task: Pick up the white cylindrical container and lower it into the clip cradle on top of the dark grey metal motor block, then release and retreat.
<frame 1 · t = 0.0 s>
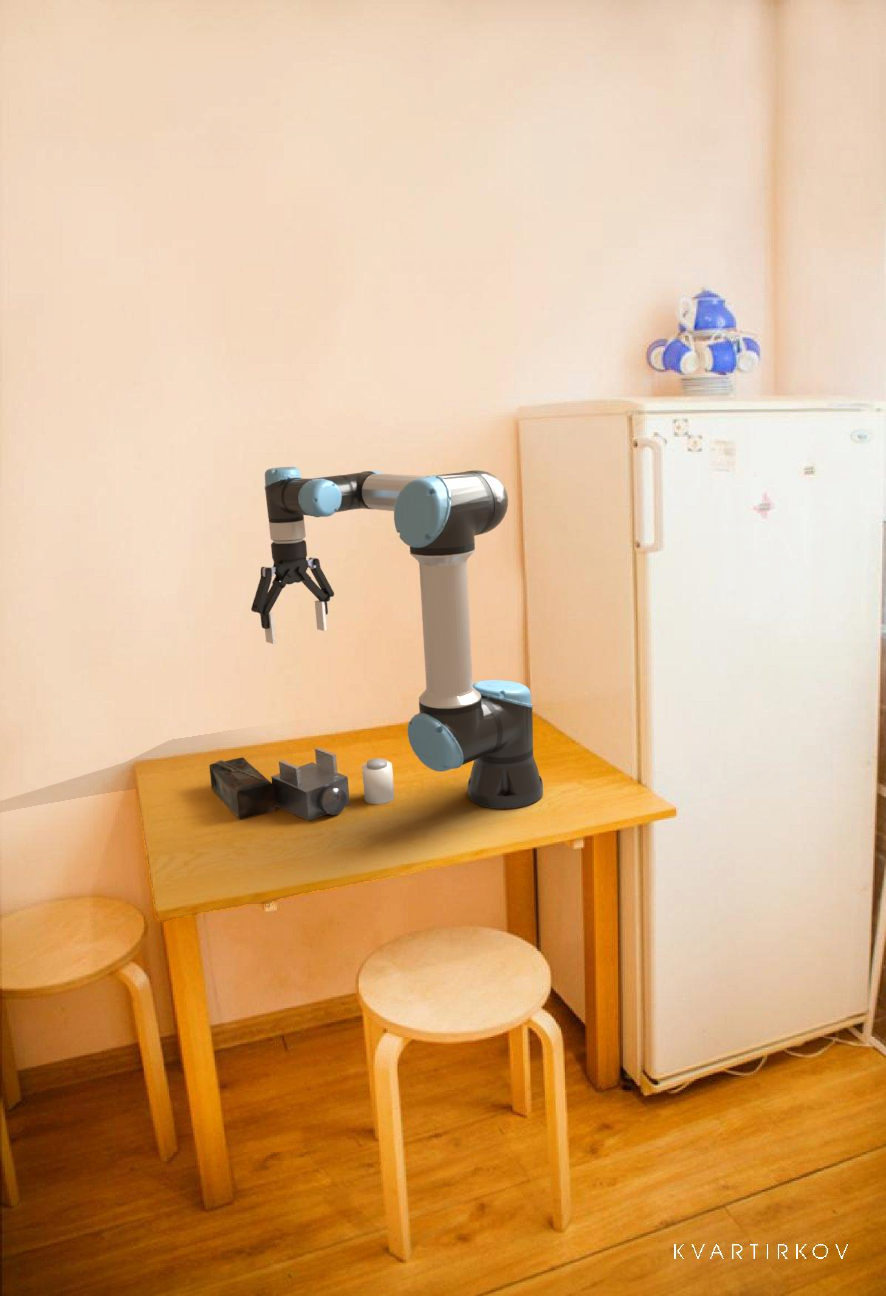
hand: (297, 636, 217), 28 cm above the table, fingers open, 13 cm apart
motor: (311, 804, 198), on the table
beverage carton: (243, 801, 202), on the table
white cylindrical container: (379, 798, 199), on the table
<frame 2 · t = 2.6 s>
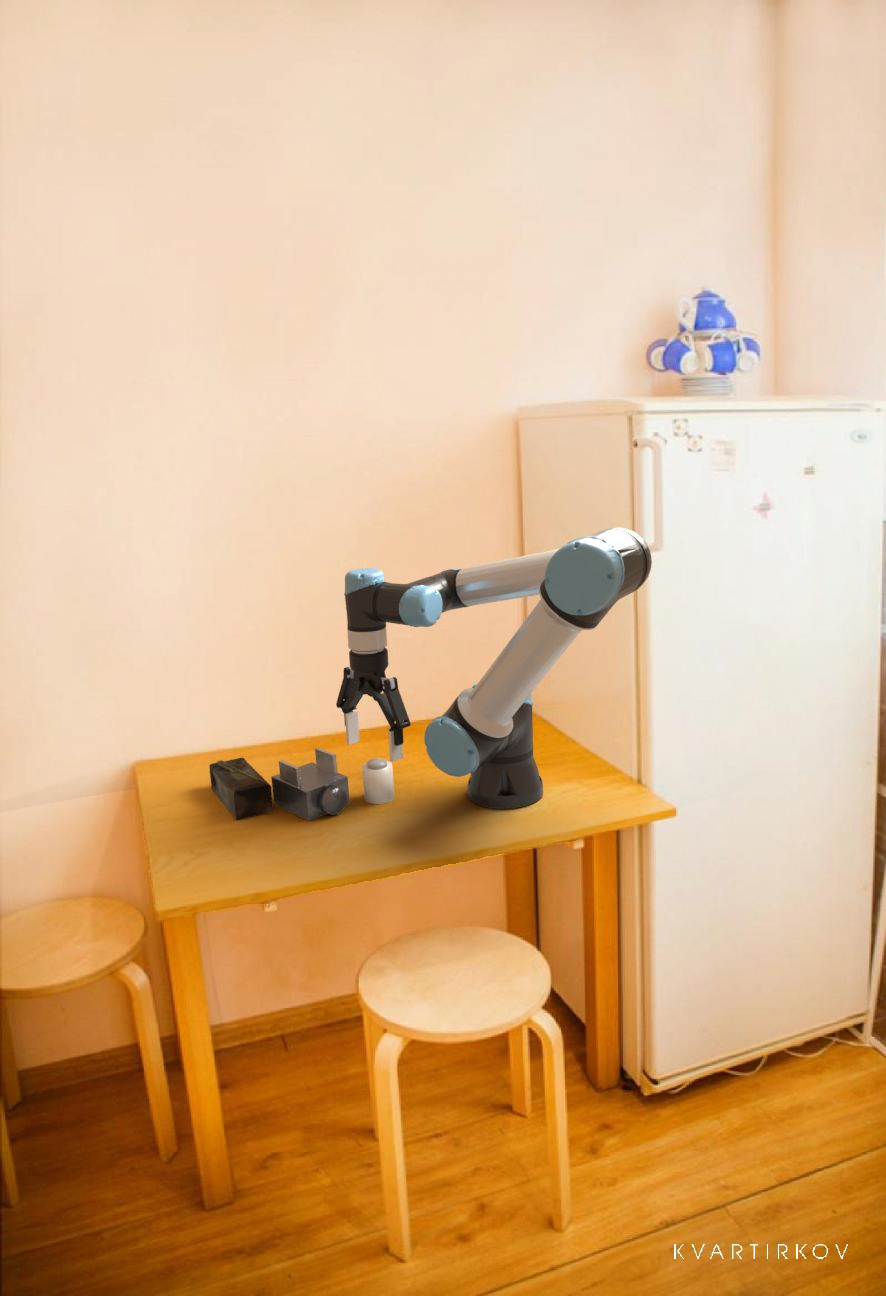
hand: (374, 751, 197), 10 cm above the table, fingers open, 13 cm apart
nothing on the table moved.
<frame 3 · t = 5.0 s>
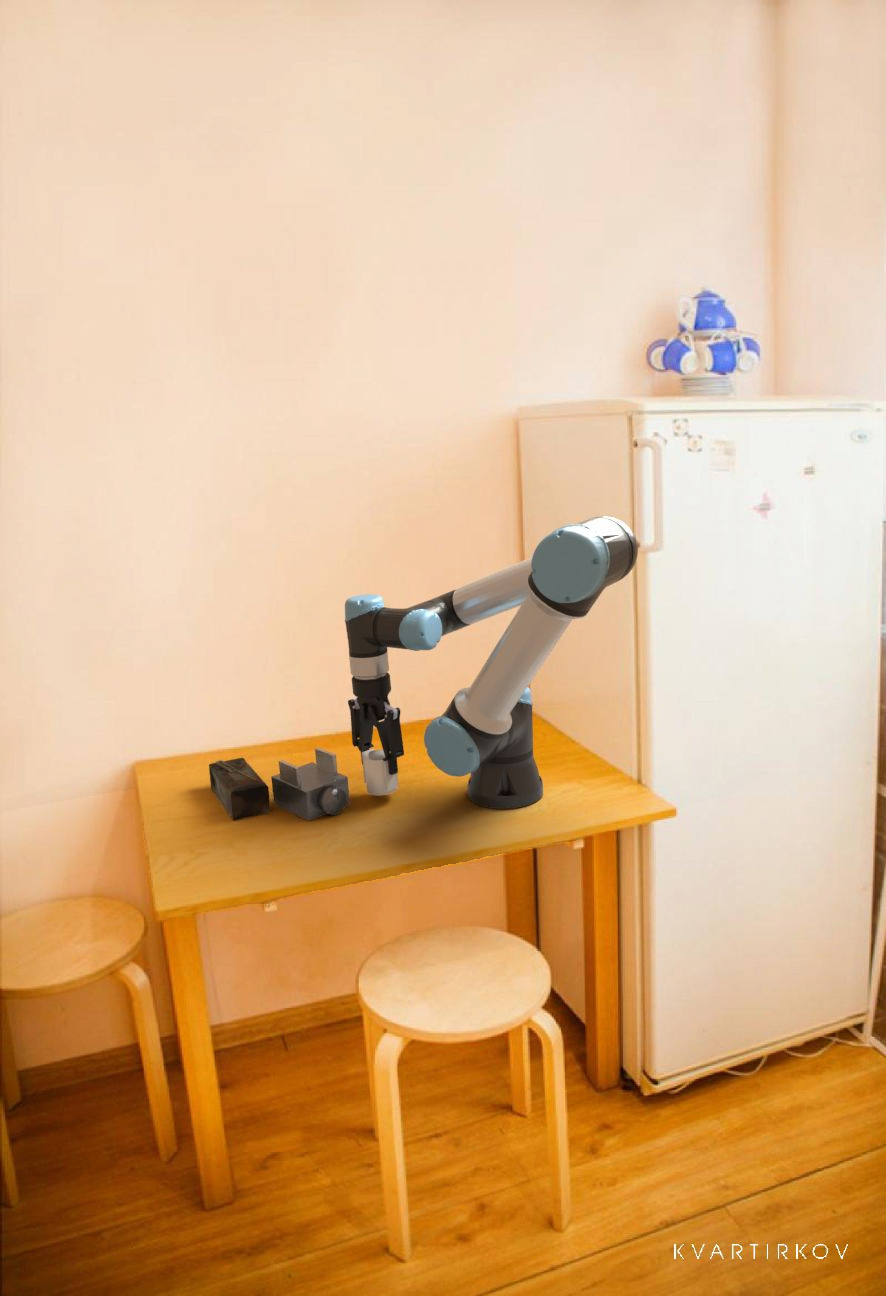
hand: (381, 784, 198), 3 cm above the table, fingers closed on white cylindrical container, 6 cm apart
white cylindrical container: (381, 789, 199), point 2 cm above the table, touching gripper
everything else where it was.
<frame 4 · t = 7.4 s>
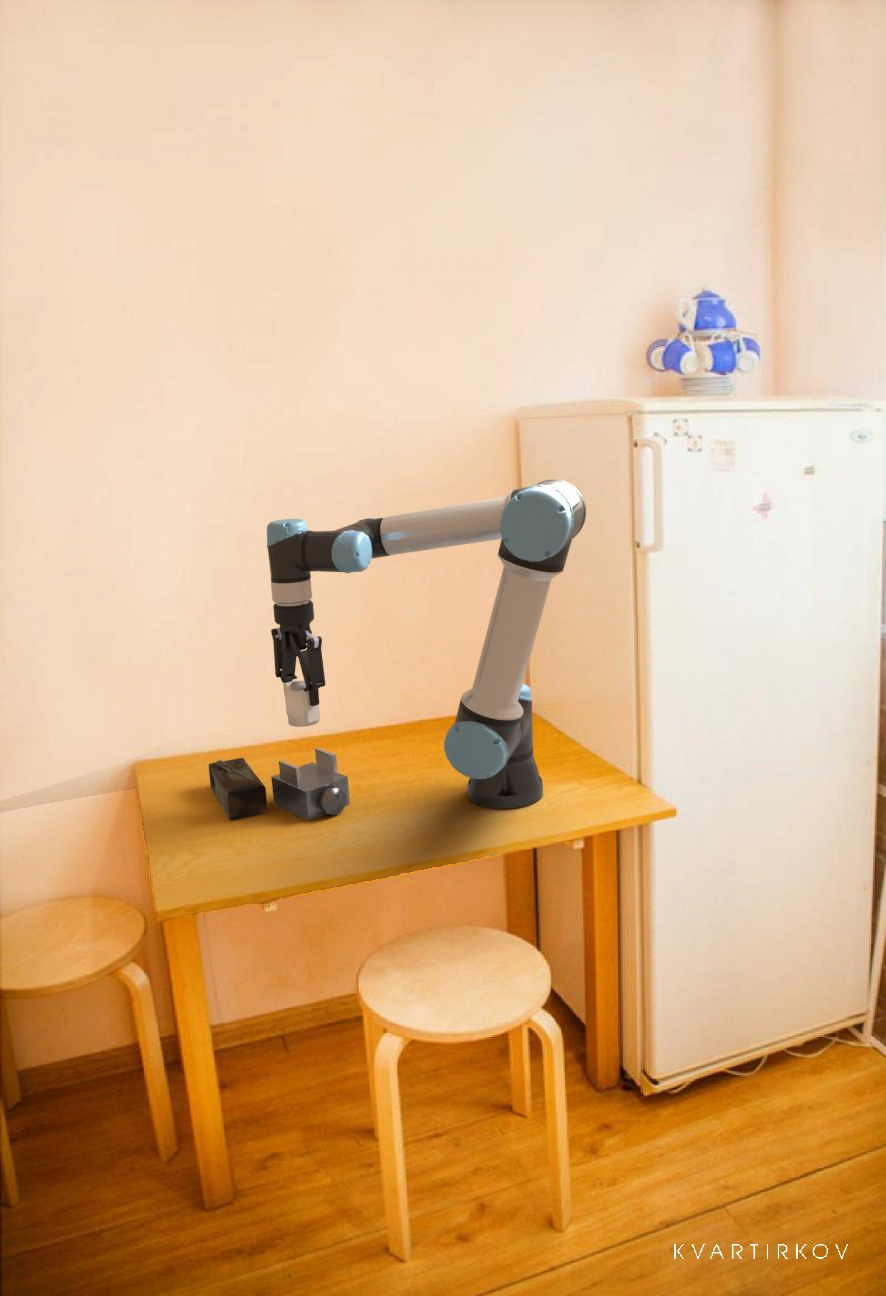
hand: (303, 716, 193), 19 cm above the table, fingers closed on white cylindrical container, 6 cm apart
white cylindrical container: (303, 721, 193), point 18 cm above the table, touching gripper
everything else where it was.
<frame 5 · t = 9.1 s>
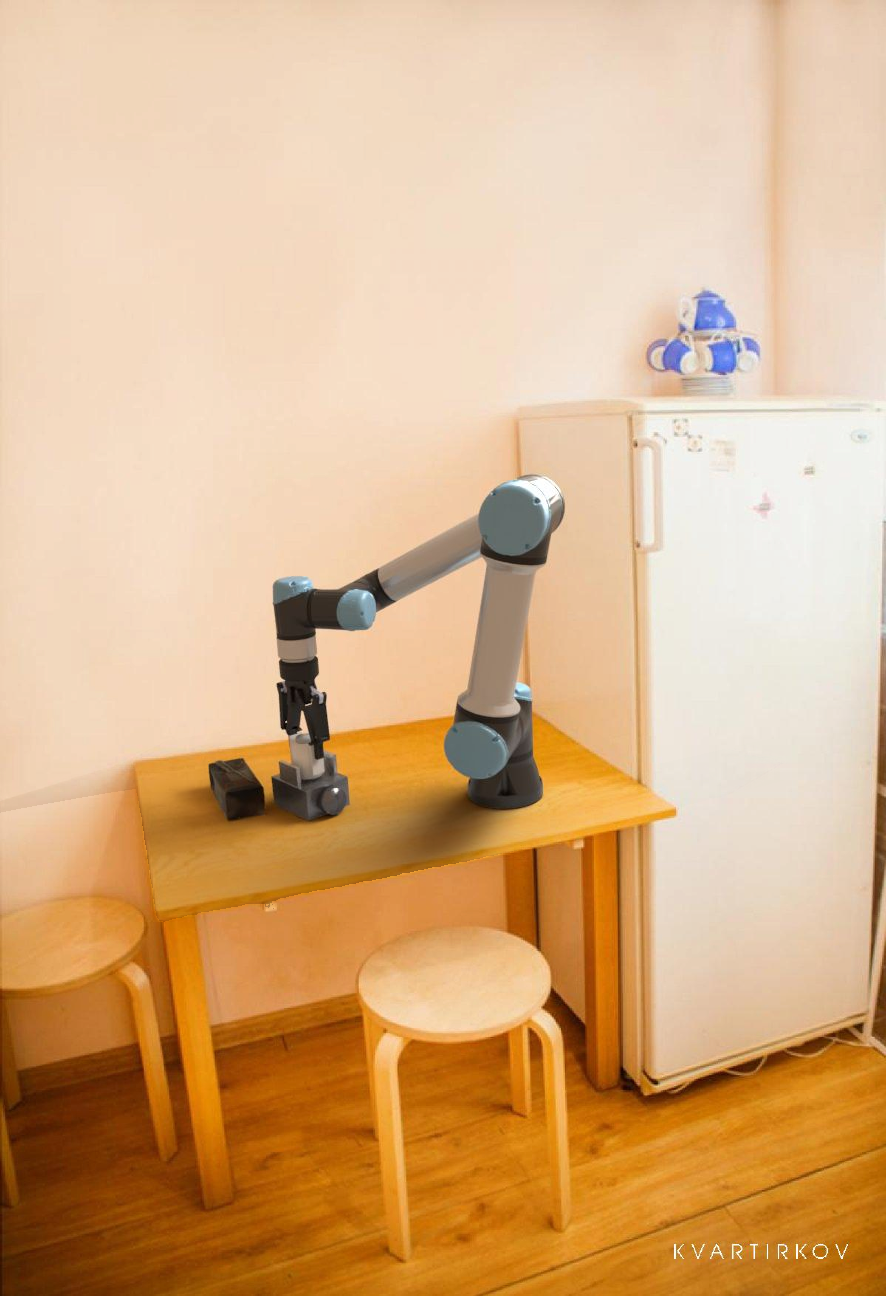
hand: (308, 768, 196), 8 cm above the table, fingers closed on white cylindrical container, 6 cm apart
white cylindrical container: (308, 773, 196), point 7 cm above the table, touching gripper
when the fingers open (7 cm above the table, at t = 9.8 s): white cylindrical container stays where it is, resting on motor.
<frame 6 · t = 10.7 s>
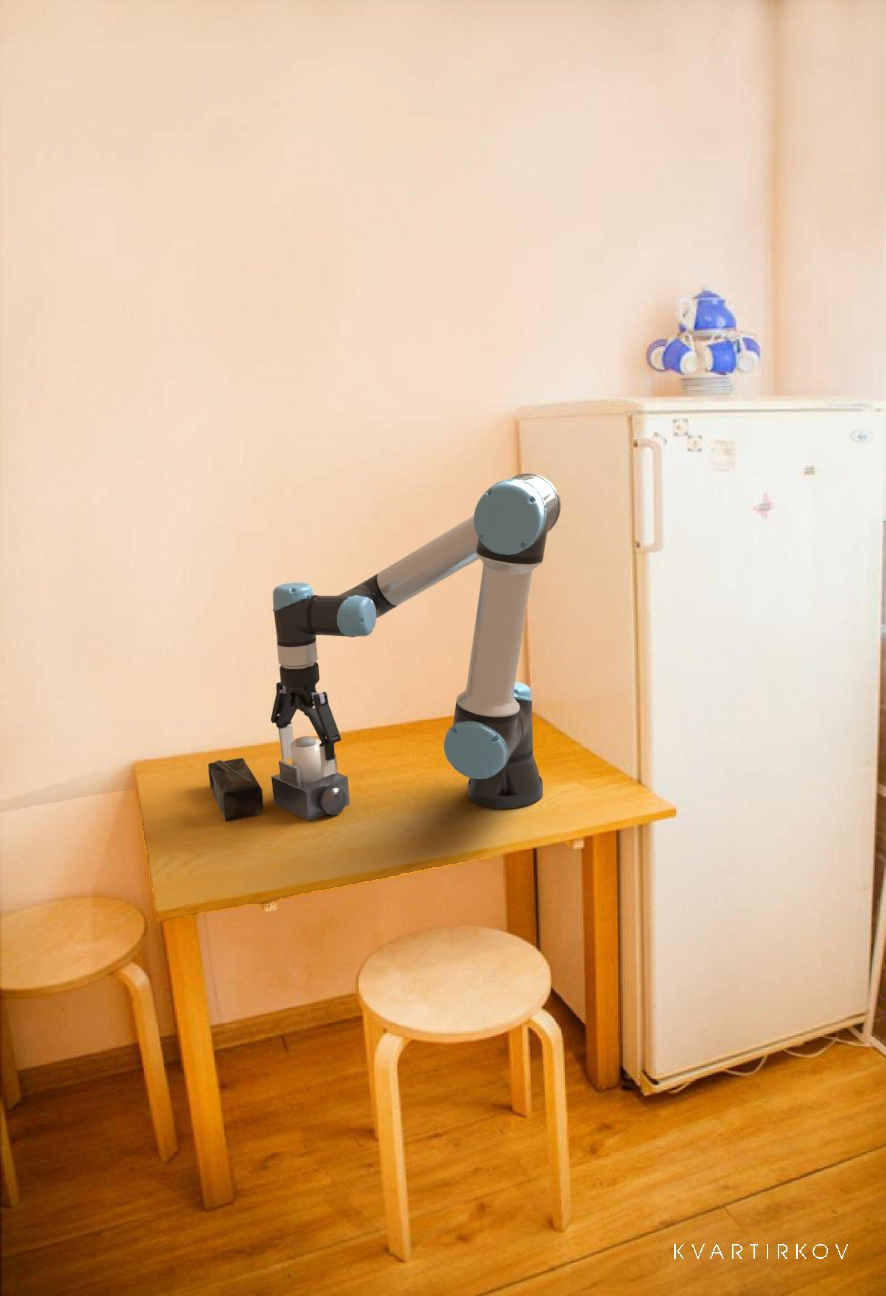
hand: (308, 766, 196), 8 cm above the table, fingers open, 13 cm apart
white cylindrical container: (308, 776, 197), point 6 cm above the table, touching motor
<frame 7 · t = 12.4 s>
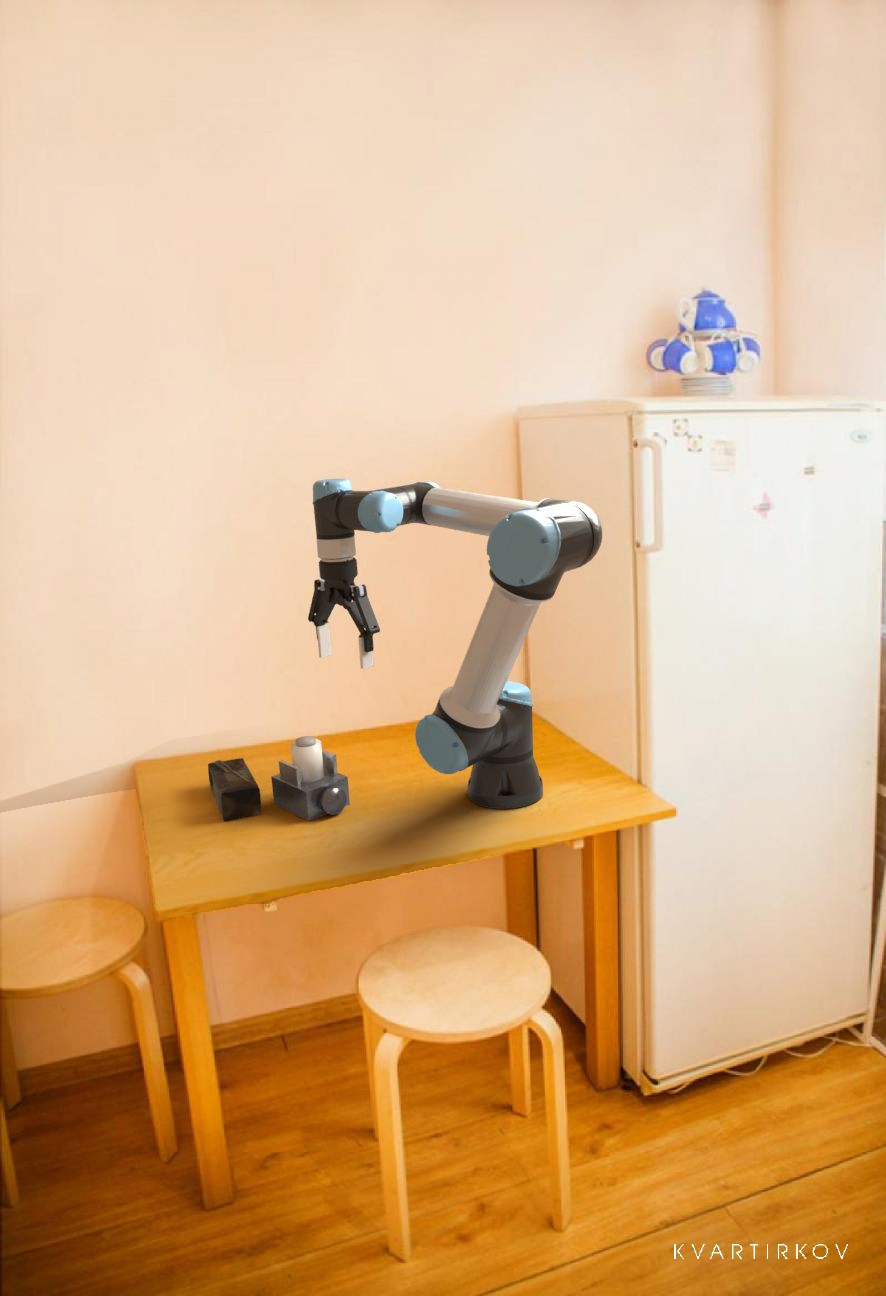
hand: (345, 661, 201), 27 cm above the table, fingers open, 13 cm apart
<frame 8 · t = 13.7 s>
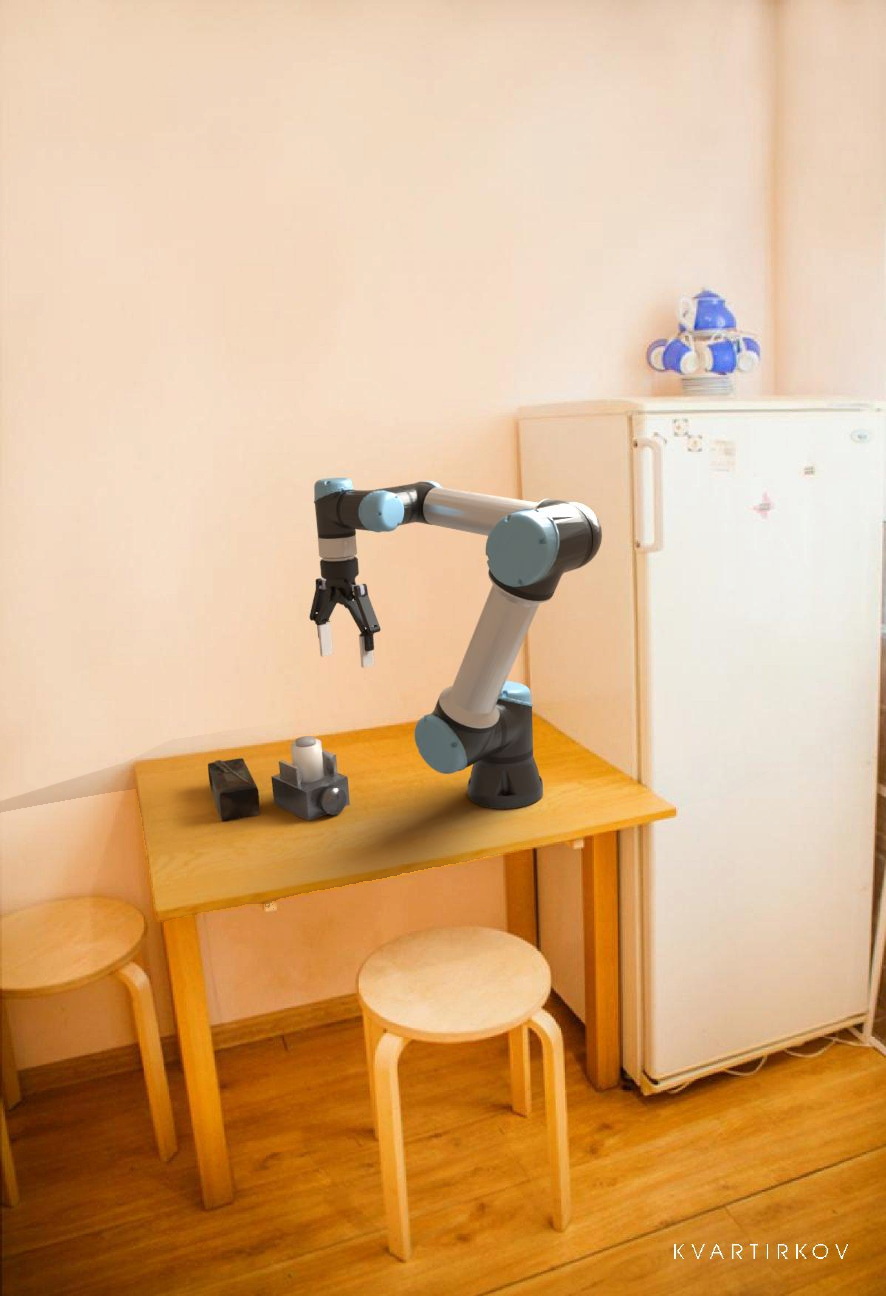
hand: (346, 660, 201), 27 cm above the table, fingers open, 13 cm apart
at the end: white cylindrical container 0.1 cm off-centre on the motor, point 6.0 cm above the motor's base; white cylindrical container tilted 0°; the gripper is holding nothing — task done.
